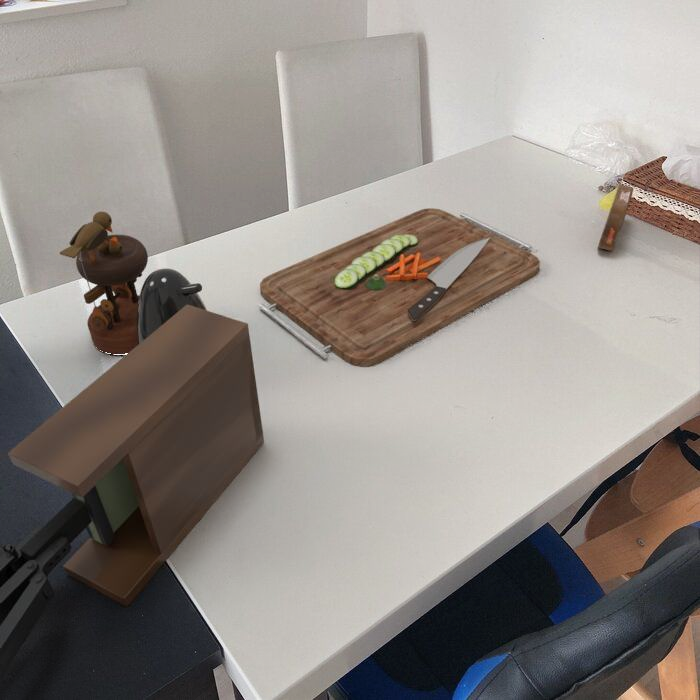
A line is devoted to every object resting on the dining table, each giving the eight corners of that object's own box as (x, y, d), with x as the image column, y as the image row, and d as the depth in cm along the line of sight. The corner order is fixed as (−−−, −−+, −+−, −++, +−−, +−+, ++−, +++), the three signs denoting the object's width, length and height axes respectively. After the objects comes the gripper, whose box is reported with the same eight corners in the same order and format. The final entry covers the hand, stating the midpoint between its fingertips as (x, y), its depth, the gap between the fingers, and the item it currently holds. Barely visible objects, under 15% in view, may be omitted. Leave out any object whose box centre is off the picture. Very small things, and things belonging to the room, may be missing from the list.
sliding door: (89, 538, 70) (48, 440, 61) (159, 465, 77) (132, 369, 68) (107, 547, 69) (68, 449, 60) (176, 472, 77) (150, 376, 67)
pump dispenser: (197, 397, 89) (177, 302, 79) (130, 380, 92) (102, 286, 82) (234, 351, 96) (219, 258, 87) (171, 336, 99) (149, 245, 90)
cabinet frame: (66, 574, 69) (7, 452, 57) (210, 421, 85) (187, 304, 74) (127, 607, 66) (77, 486, 54) (264, 442, 82) (248, 323, 71)
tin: (607, 217, 125) (618, 174, 120) (625, 221, 124) (637, 177, 118) (594, 257, 114) (605, 211, 109) (613, 261, 113) (625, 215, 108)
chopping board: (441, 206, 129) (442, 191, 127) (556, 263, 113) (560, 247, 111) (240, 294, 107) (237, 278, 105) (348, 380, 91) (347, 362, 89)
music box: (150, 366, 94) (103, 238, 81) (77, 365, 96) (20, 240, 83) (186, 303, 106) (150, 183, 93) (121, 303, 107) (76, 185, 95)
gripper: (-182, 722, 54) (45, 509, 70) (-75, 809, 50) (143, 558, 66) (-234, 678, 50) (22, 460, 66) (-121, 769, 45) (125, 510, 61)
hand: (82, 509), depth 66 cm, fingers closed
